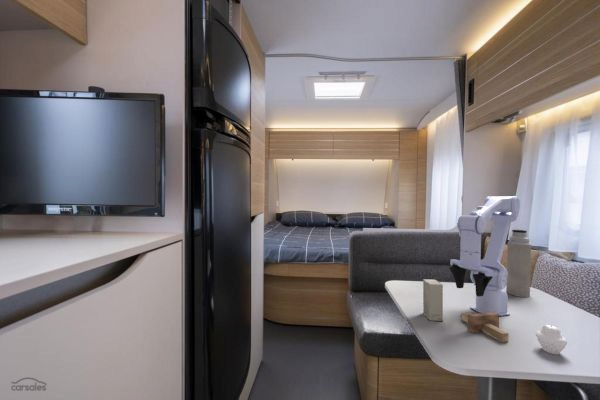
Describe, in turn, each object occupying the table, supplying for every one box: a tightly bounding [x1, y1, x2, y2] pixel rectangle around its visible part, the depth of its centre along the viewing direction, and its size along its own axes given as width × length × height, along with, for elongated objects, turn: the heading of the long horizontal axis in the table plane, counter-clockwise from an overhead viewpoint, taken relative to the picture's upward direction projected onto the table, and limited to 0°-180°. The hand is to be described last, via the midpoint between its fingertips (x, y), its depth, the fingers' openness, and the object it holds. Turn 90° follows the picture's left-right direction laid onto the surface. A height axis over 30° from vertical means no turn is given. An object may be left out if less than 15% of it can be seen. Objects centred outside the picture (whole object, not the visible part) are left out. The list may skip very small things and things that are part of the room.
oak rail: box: [461, 311, 510, 343], centre depth 82 cm, size 2×14×2 cm, turn 13°
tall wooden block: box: [467, 312, 500, 334], centre depth 82 cm, size 10×2×5 cm, turn 103°
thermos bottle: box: [505, 229, 532, 298], centre depth 116 cm, size 8×8×28 cm
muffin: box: [535, 324, 568, 355], centre depth 71 cm, size 6×6×7 cm
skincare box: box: [422, 278, 444, 322], centre depth 91 cm, size 6×4×12 cm
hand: (469, 291), depth 88 cm, fingers open, 7 cm apart
